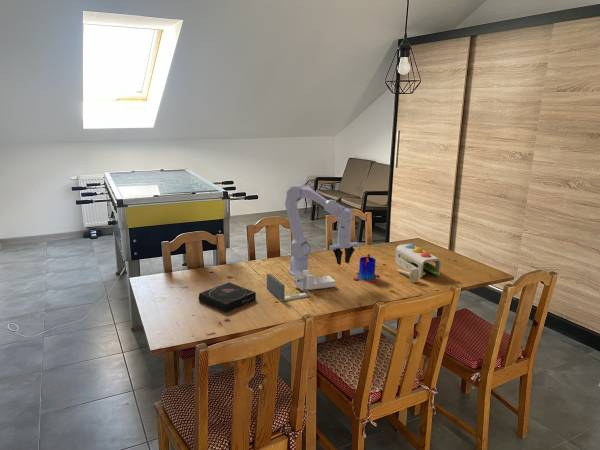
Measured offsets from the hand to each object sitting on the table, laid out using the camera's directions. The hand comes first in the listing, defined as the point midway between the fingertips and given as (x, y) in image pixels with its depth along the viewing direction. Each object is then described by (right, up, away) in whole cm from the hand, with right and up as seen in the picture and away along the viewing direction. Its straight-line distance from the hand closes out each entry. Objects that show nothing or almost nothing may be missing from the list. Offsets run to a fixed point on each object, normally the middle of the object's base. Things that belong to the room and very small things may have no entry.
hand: (342, 263), depth 212 cm
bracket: (-11, -11, -3) cm, 16 cm away
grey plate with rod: (-25, -12, -11) cm, 30 cm away
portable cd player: (-50, -15, -20) cm, 56 cm away
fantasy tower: (+12, -8, +9) cm, 17 cm away
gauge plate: (-20, -10, -10) cm, 25 cm away
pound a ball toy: (+37, -6, +19) cm, 42 cm away
